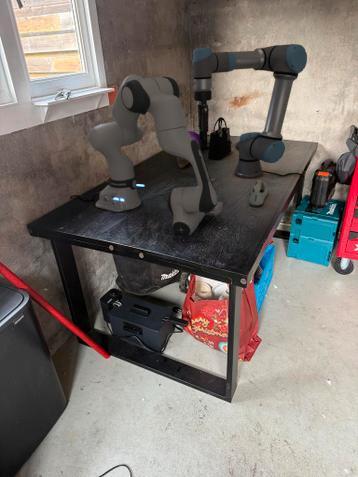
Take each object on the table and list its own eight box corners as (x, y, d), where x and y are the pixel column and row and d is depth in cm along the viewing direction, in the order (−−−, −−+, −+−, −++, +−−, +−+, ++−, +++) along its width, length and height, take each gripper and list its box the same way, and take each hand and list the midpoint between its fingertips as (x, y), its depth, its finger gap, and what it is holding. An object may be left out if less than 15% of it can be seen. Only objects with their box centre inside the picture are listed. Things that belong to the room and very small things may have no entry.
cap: (206, 146, 148) (206, 141, 147) (197, 146, 149) (197, 141, 148) (208, 144, 151) (208, 139, 150) (200, 144, 152) (200, 139, 151)
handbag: (219, 160, 214) (219, 120, 202) (206, 159, 218) (206, 119, 206) (232, 152, 229) (233, 114, 216) (220, 151, 233) (220, 114, 221)
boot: (194, 157, 223) (193, 127, 213) (188, 169, 203) (187, 135, 193) (182, 157, 225) (180, 127, 215) (174, 168, 205) (172, 136, 194)
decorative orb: (204, 151, 235) (204, 129, 228) (194, 156, 225) (193, 134, 217) (186, 149, 243) (186, 128, 235) (175, 154, 232) (174, 132, 224)
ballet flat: (269, 188, 169) (270, 173, 165) (265, 208, 149) (266, 191, 145) (252, 187, 171) (253, 172, 167) (246, 206, 151) (247, 190, 147)
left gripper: (219, 207, 130) (227, 194, 141) (171, 202, 137) (182, 190, 148) (218, 221, 133) (226, 207, 144) (172, 216, 140) (183, 203, 151)
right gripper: (190, 88, 145) (192, 142, 157) (197, 92, 131) (198, 151, 142) (207, 87, 146) (207, 141, 157) (215, 91, 131) (215, 150, 143)
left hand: (203, 198), depth 146 cm, fingers closed on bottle, 5 cm apart
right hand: (203, 145), depth 150 cm, fingers closed on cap, 4 cm apart
